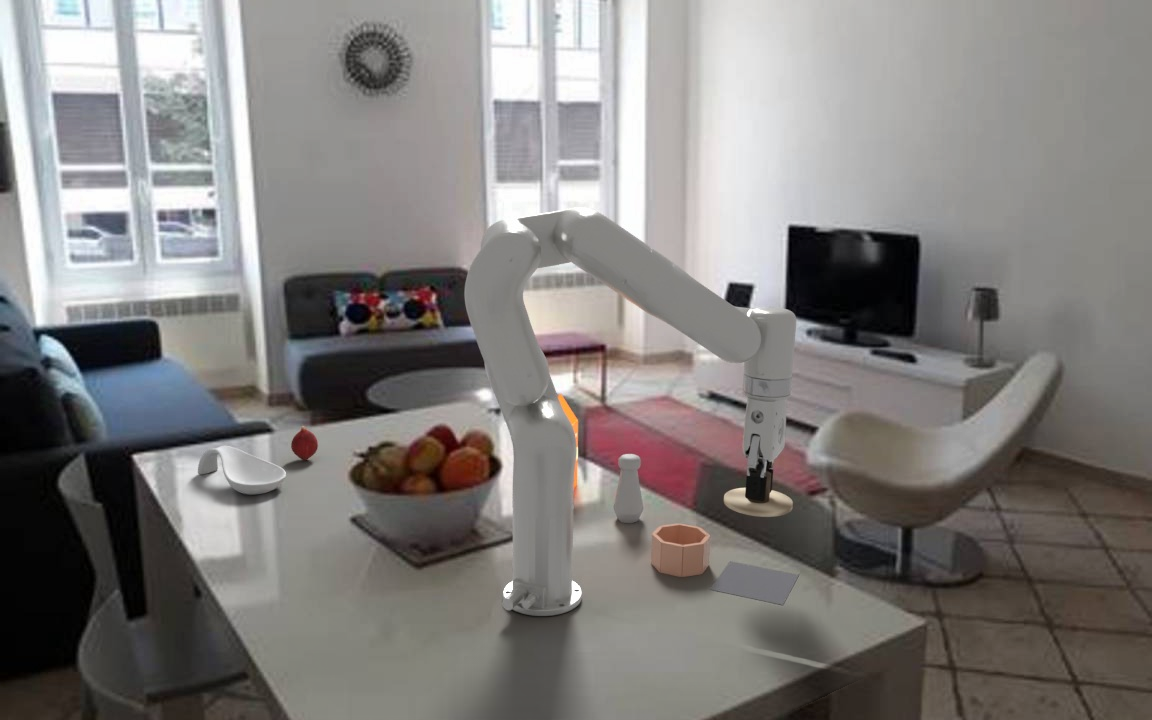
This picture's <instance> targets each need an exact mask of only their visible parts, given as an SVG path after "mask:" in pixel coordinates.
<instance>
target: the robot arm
mask: <svg viewBox="0 0 1152 720" xmlns="http://www.w3.org/2000/svg"><path fill="white" fill-rule="evenodd" d="M568 263H571V264H573V265H575V266H576V267H577V268H579V269H580V270H581V271H583V272H585V273H586V274H588V275H589V276H590V277H591V276H592V277H593V279H596V280H597V281H598V282H600V283H602V284H603V285H604V286H606V287H607V288H610V289H611V290H612V291H614V292H615V293H617V294H618V295H619V296H621V297H623V298H624V299H626V300H627V301H629V302H631V303H632V304H633V305H634V306H637V307H638V308H639V309H641V310H642V311H644V312H645V313H647V314H649V315H650V316H652V317H655V318H657V319H659V321H662V322H664V323H666V324H667V325H669V326H671V327H672V328H674V329H675V330H677V331H678V332H680V333H682V334H683V335H685V336H686V337H688V338H689V339H690V340H692V341H693V342H695V343H696V344H699V345H700V346H702V348H704V349H706V350H707V351H708V352H710V353H712V354H713V355H715V356H716V357H718V358H719V359H720V360H722V361H724V362H726V363H730V364H742V363H743V378H742V390H741V393H742V395H743V396H745V397H747V398H746V399H747V401H746V408H745V417H744V424H743V425H744V426H743V434H742V456H743V457H744V458H745V459H747V463H746V464H747V465H746V467H747V469H746V480H745V488H746V491H745V497H746V498H747V499H752V500H757V501H764V500H765V498H766V486H767V477H765V473H766V471H768V472H770V473H771V484H770V492H771V491H772V490H773V482H774V481H773V480H774V466H775V465H774V464H775V459H777V457H778V456H780V454H781V452H782V451H783V450H784V449H785V446H786V430H787V400H788V399H790V398H791V391H792V380H793V368H794V367H793V366H794V355H795V343H796V331H797V317H796V314H795V313H794V312H793V311H791V310H790V309H786V308H783V307H775V306H773V307H771V306H764V307H763V306H762V307H755V308H750V307H740V306H735V305H733V304H731V303H730V302H728V301H727V300H725V298H722V297H721V296H719V295H718V294H717V293H715V292H714V291H712V290H711V289H709V288H708V287H706V286H705V285H703V284H702V283H701V282H699V281H698V280H696V279H695V278H694V277H692V276H691V275H689V274H688V273H687V272H686V271H685V270H684V269H682V268H681V267H680V266H678V265H677V264H676V263H675V262H674V261H671V260H670V259H669V258H667V257H666V256H664V255H663V254H661V253H660V252H658V251H657V250H656V249H654V248H653V247H651V246H650V245H648V244H646V243H645V242H644V241H642V240H641V239H640V238H638V237H637V236H635V235H634V234H633V233H630V232H629V231H628V230H627V229H625V228H624V227H622V226H620V225H619V224H618V223H616V222H614V221H613V220H612V219H611V218H609V217H607V216H605V215H604V213H603V214H602V213H601V212H598V211H596V210H593V209H591V208H587V207H583V206H582V207H581V206H580V207H571V208H565V209H561V210H555V211H549V212H543V213H536V214H531V215H525V216H516V217H511V218H504V219H501V220H497V221H496V222H494V223H493V224H491V225H490V226H488V228H487V229H486V230H485V232H484V233H483V235H482V237H481V242H480V250H479V251H478V253H477V254H476V256H475V258H474V259H473V260H472V263H471V265H469V266H470V267H469V269H468V272H467V275H466V280H465V283H464V292H463V293H464V304H465V305H464V306H465V308H466V314H467V317H468V320H469V323H470V325H471V328H472V331H473V334H474V336H475V340H476V343H477V345H478V346H477V347H478V348H479V351H480V354H481V357H482V358H483V359H482V360H483V362H484V370H485V373H486V376H487V379H488V382H489V384H490V387H491V389H492V390H493V393H494V397H495V399H496V401H497V404H498V406H499V409H500V412H501V413H502V416H503V419H504V422H505V424H506V426H507V430H508V432H509V435H510V440H511V443H512V451H513V452H512V453H513V463H512V464H513V466H512V468H513V469H512V493H511V494H512V497H511V498H512V499H511V500H512V506H511V507H512V581H511V582H509V583H508V584H506V585H505V586H504V589H503V590H502V591H503V592H502V601H501V603H502V604H501V605H502V607H503V608H504V609H505V610H506V611H511V610H513V611H515V612H517V613H519V614H522V615H523V614H524V615H527V616H533V617H550V616H552V617H553V616H557V615H561V614H565V613H567V612H570V611H573V610H574V609H576V607H577V606H579V605H580V603H581V602H582V597H583V592H582V589H581V587H580V585H578V583H576V582H575V581H573V562H574V561H573V556H574V555H573V553H574V545H573V544H574V490H575V488H574V473H575V464H576V455H577V443H576V436H575V432H574V429H573V426H572V424H571V422H570V420H569V418H568V417H567V415H566V414H565V412H564V410H563V408H562V406H561V403H560V401H559V398H558V396H559V395H558V393H557V390H556V388H555V385H554V383H553V379H552V376H551V375H550V367H549V362H548V360H547V357H546V356H545V354H544V351H543V349H542V348H541V347H540V345H539V342H538V340H537V337H536V334H535V332H534V329H533V327H532V323H531V321H530V316H529V313H528V310H527V308H526V305H525V302H524V301H525V300H524V290H525V286H526V284H527V282H528V280H530V278H531V277H532V276H533V274H535V272H536V271H537V270H538V269H543V268H548V267H555V266H559V265H564V264H568Z"/></svg>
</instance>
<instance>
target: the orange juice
mask: <svg viewBox="0 0 1152 720" xmlns="http://www.w3.org/2000/svg"><path fill="white" fill-rule="evenodd" d="M557 396H558V398H559V401H560V403H561V406H562V408H563V410H564V412H565V414H566V415H567V417H568V418H569V420H570V422H571V424H572V426H573V429H574V432H575V436H576V443H577V455H576V464H575V473H574V489H575V488H576V487H577V485H578V464H579V463H578V461H579V460H578V459H579V457H578V456H579V445H578V444H579V443H578V441H579V419H578V418H577V417H576V415H575V413H574V411H572V409H571V407H570V406H569V404H568V403H567V401H566V400H565V398H564V396H563V395H562V393H560V394H559V395H557Z"/></svg>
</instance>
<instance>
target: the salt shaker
mask: <svg viewBox="0 0 1152 720" xmlns="http://www.w3.org/2000/svg"><path fill="white" fill-rule="evenodd" d="M617 463H618V467H619V469H620V473H619V479H618V483H617V488H616V492H615V493H616V494H615V498H614V503H613V511H614V513H615V516H616V518H617V520H618V521H620V523H623V524H624V523H626V524H633V523H637V521H639V519H640V517H641V516H642V514H643V512H644V509H645V508H644V502H643V497H642V491H641V486H640V479H639V472H638V470H639V469H640V468H641V464H642V460H641V457H640V456H639V455H637V454H634V453H624V454H622V455H621V456H620V457H618V460H617Z"/></svg>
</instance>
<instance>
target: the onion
mask: <svg viewBox="0 0 1152 720" xmlns="http://www.w3.org/2000/svg"><path fill="white" fill-rule="evenodd" d="M318 443H319V442H318V439H317V437H316V436H315V434H314V433H313V432H311V431H310V430H308V429H307V428H306V426H304V425H302V426H301V429H300V431H299V432H297V433H296V434H294V436H293V438H292V440H291V444H290V445H291V451H292V452H293V453H294V455H295V456H297V457H298V458H299V459H301V460H302V461H308V459H310V458H311V457H312V456H314V455H315V454H316V453H317V451H318V448H319V447H318V446H319V444H318Z"/></svg>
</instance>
